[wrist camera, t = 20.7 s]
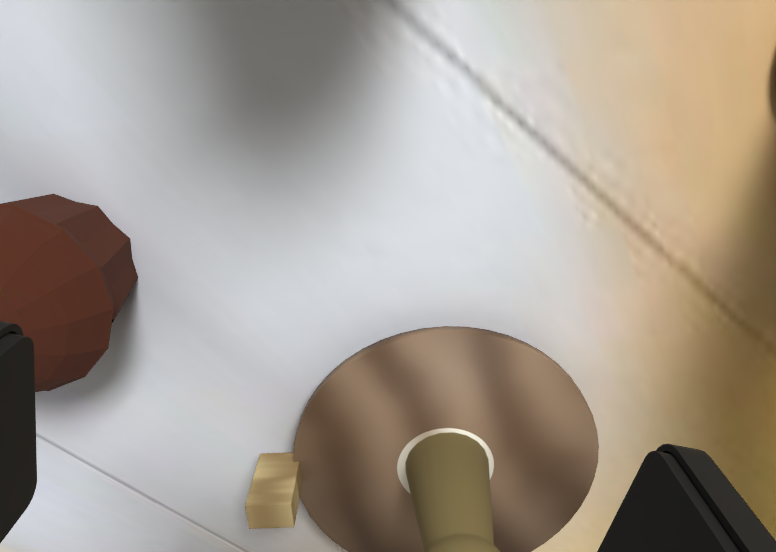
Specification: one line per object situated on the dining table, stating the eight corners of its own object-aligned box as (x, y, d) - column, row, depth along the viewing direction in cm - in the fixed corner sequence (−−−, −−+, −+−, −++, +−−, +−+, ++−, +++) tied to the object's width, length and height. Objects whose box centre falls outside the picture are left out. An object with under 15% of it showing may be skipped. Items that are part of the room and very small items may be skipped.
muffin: (-14, 149, 35) (-158, 191, 25) (166, 201, 36) (92, 257, 27) (-19, 314, 39) (-143, 400, 30) (142, 354, 40) (71, 448, 31)
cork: (480, 501, 42) (511, 648, 32) (400, 494, 42) (405, 641, 32) (496, 436, 40) (535, 573, 30) (411, 428, 39) (420, 564, 29)
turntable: (508, 267, 36) (526, 302, 31) (639, 492, 43) (670, 547, 39) (220, 427, 40) (199, 478, 36) (383, 605, 48) (384, 666, 43)
